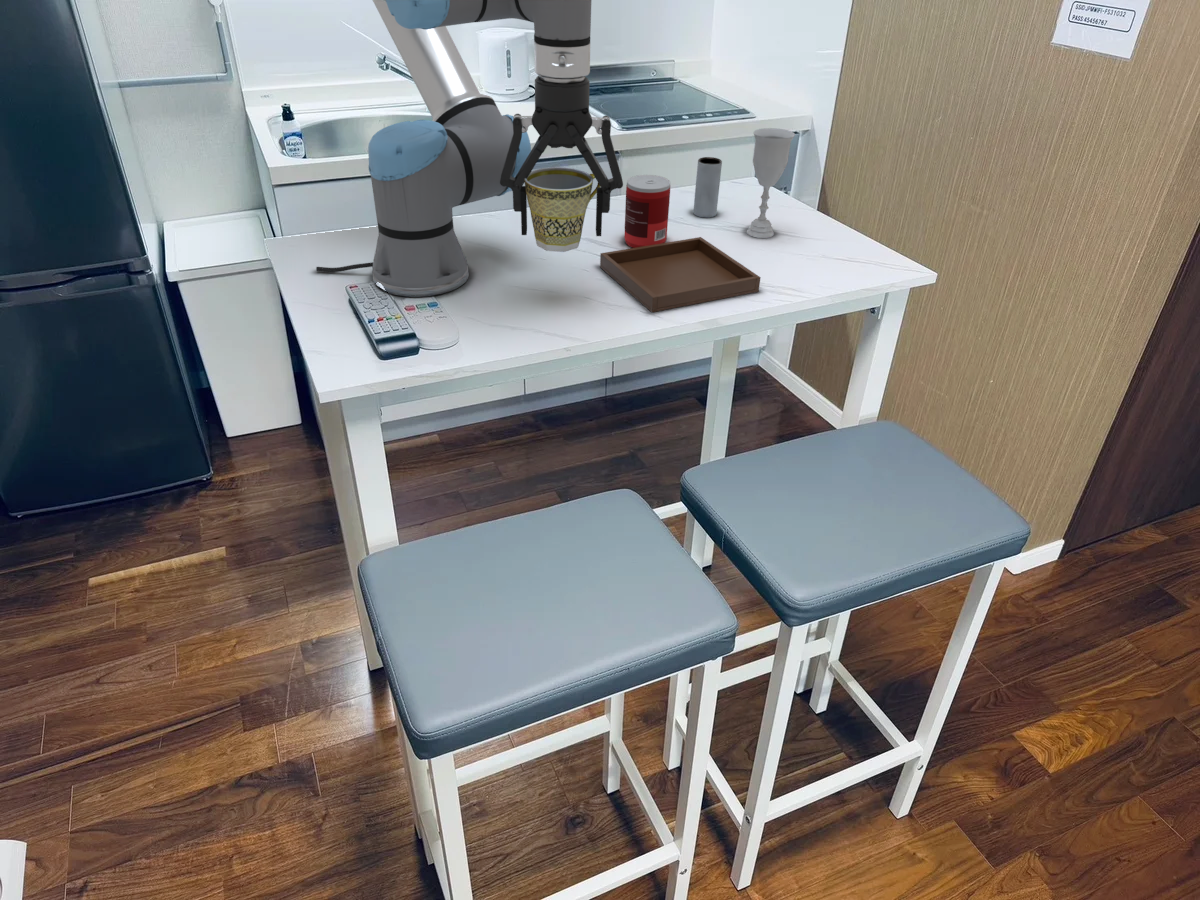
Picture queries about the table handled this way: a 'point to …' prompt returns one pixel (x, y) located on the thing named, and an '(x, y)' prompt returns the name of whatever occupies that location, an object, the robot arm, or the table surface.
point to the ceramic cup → (558, 205)
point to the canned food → (646, 210)
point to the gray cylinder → (707, 186)
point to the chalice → (768, 171)
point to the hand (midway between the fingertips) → (561, 232)
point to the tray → (678, 273)
